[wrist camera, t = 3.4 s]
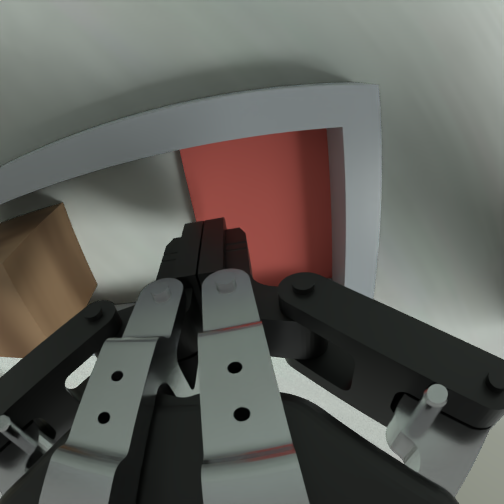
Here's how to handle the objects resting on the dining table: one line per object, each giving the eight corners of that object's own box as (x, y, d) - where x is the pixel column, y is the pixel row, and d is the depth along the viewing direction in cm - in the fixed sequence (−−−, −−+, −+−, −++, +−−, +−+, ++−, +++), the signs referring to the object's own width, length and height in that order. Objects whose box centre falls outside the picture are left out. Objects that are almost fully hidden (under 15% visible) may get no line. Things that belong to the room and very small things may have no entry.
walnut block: (63, 201, 13) (2, 263, 8) (97, 283, 16) (61, 359, 11) (1, 222, 13) (-55, 277, 8) (36, 292, 16) (-3, 356, 11)
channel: (353, 82, 11) (378, 84, 9) (355, 291, 17) (369, 321, 15) (-65, 204, 12) (-87, 221, 10) (1, 330, 17) (-13, 353, 15)
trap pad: (323, 119, 12) (325, 121, 12) (329, 272, 16) (332, 277, 16) (179, 141, 12) (178, 142, 12) (216, 290, 16) (215, 295, 16)
